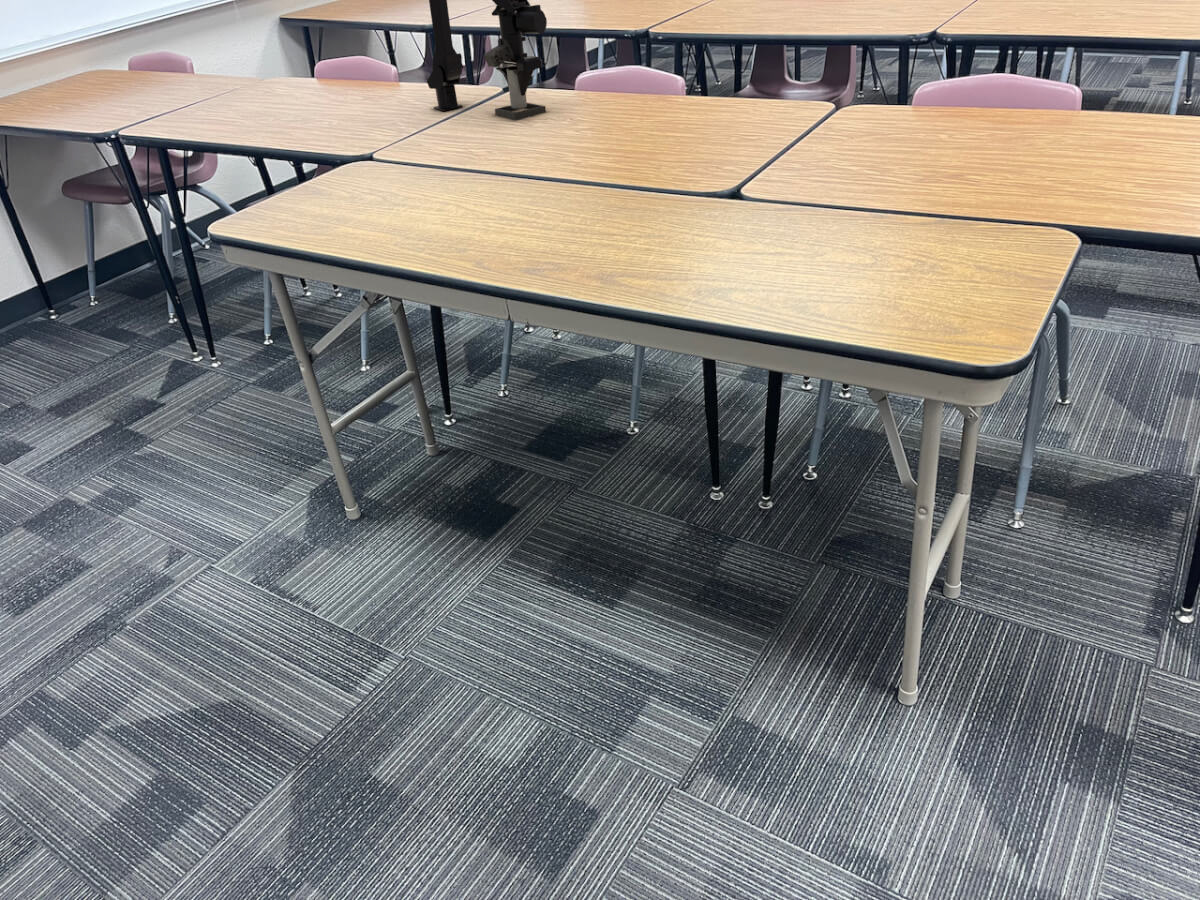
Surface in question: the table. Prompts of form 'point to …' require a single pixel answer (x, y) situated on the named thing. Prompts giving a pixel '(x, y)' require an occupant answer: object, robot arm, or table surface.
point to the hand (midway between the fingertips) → (518, 94)
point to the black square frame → (531, 111)
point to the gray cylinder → (515, 90)
